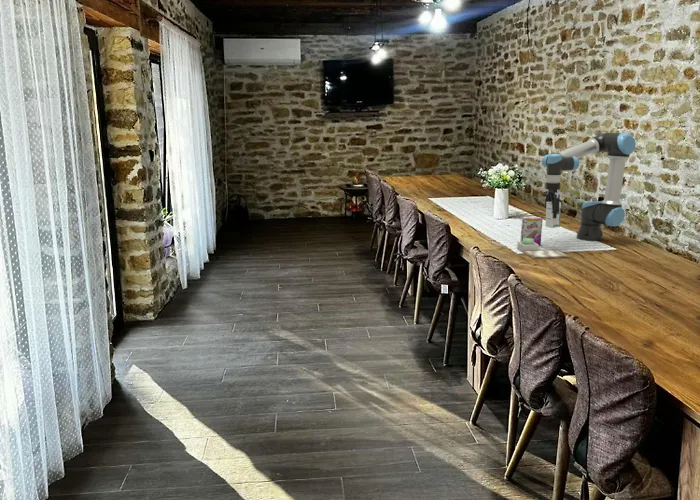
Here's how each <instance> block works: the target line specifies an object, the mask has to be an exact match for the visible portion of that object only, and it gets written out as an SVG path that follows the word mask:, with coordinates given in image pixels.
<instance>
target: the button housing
mask: <svg viewBox="0 0 700 500" xmlns="http://www.w3.org/2000/svg"><path fill="white" fill-rule="evenodd" d="M516 245H517V246H516V249H517V250H519V251H521V253H523V251H540V250H539V246H540V245H538V244H536V243H535V242H534V245H524V244H523V242H520V241H517V244H516Z"/></svg>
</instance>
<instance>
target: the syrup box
mask: <svg viewBox="0 0 700 500" xmlns="http://www.w3.org/2000/svg"><path fill="white" fill-rule="evenodd" d="M551 212H553V211H552V201H550V202H547V204H546V208H545V227H546V228H549V229H554V228H555V229H557V228H560V227H561V214H562V202H561V201H559V212H557V220H556V224H551V216H552V213H551Z"/></svg>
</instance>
